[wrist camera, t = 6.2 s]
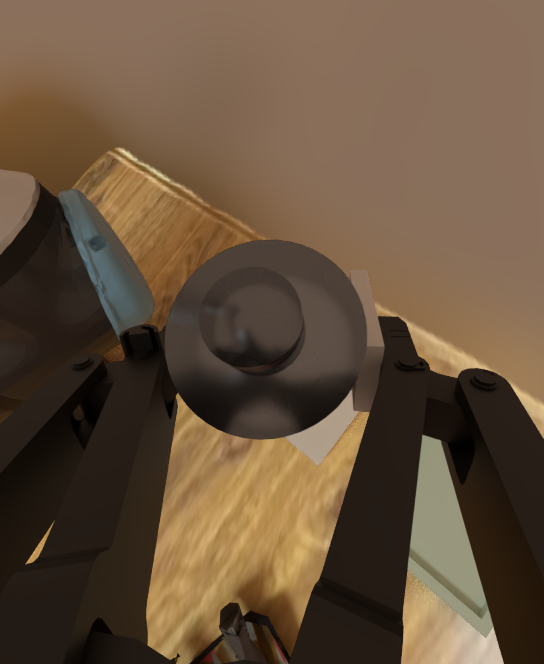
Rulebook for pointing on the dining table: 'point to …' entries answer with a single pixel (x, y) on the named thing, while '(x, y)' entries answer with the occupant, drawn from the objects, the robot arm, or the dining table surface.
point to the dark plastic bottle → (266, 339)
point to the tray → (444, 541)
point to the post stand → (325, 432)
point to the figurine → (243, 640)
